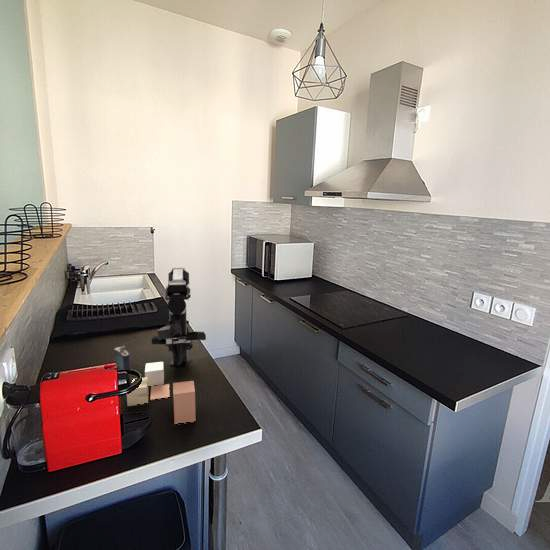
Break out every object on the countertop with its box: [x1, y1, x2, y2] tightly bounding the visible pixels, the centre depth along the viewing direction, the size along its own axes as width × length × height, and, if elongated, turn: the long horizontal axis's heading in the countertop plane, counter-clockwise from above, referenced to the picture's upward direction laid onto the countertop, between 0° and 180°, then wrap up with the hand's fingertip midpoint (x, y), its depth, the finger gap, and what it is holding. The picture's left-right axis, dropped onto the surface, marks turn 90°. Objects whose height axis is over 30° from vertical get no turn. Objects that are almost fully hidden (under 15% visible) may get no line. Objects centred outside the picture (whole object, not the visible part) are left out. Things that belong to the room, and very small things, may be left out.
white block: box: [144, 361, 165, 386], centre depth 118 cm, size 6×6×6 cm
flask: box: [113, 345, 131, 371], centre depth 122 cm, size 9×3×11 cm, turn 48°
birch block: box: [126, 376, 150, 407], centre depth 107 cm, size 6×6×6 cm
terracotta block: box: [172, 380, 197, 425], centre depth 99 cm, size 6×6×10 cm
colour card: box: [150, 383, 171, 401], centre depth 112 cm, size 8×6×1 cm
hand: (178, 364), depth 111 cm, fingers closed
